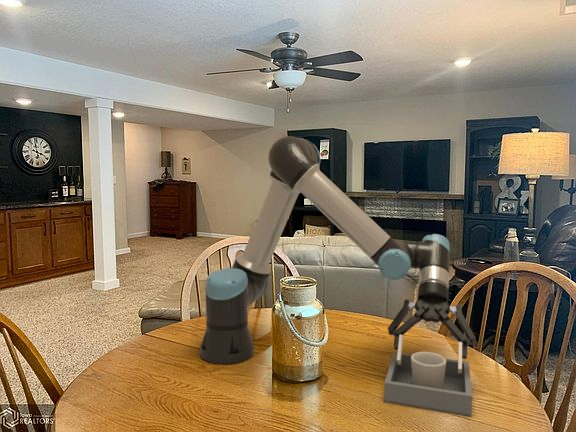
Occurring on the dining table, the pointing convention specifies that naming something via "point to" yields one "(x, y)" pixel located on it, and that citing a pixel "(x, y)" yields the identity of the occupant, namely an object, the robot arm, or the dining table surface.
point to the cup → (428, 369)
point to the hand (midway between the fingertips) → (428, 366)
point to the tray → (429, 388)
